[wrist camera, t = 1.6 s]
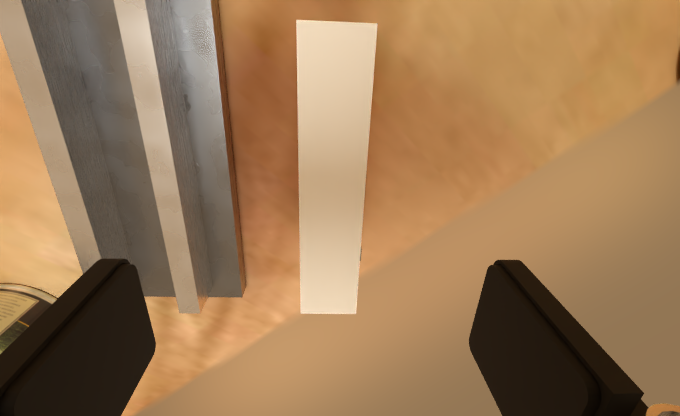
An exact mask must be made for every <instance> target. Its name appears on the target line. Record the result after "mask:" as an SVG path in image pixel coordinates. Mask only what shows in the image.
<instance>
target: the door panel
mask: <svg viewBox="0 0 680 416" xmlns="http://www.w3.org/2000/svg"><path fill="white" fill-rule="evenodd" d="M377 25H378V23H357V22H335V21H312V20H296V27H297V95H298V164H299V232H300V301H301V314H356V306H357V292H358V279H359V265H360V261H361V250H362V249H361V239H362V225H363V212H364V199H365V185H366V172H367V158H368V145H369V132H370V118H371V105H372V92H373V78H374V65H375V51H376V38H377Z"/></svg>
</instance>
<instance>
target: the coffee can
mask: <svg viewBox="0 0 680 416" xmlns="http://www.w3.org/2000/svg"><path fill="white" fill-rule="evenodd" d="M56 300H57V298H55V297H53V296H52V295H50V294H48V293H46V292H43V291H41V290H38V289H35V288H32V287H28V286H24V285H17V284H0V354H1V353H2V352H3V351H4V350H5V349H6V348H7V347H8V346H9V345H10V344H11V343H12V342H13V341H14V340H15V339H16V338H17V337H18V336H20V335H21V334H22V333H23V332H24V331H25V330H26V329H27V328H28V327H29V326H30V325H31V324H32V323H33V322H34V321H35V320H36V319H37V318H38V317H39V316H40V315H41V314H42V313H43V312H44V311H46V310H47V309H48V308H49V307H50V306H51V305H52V304H53V303H54V302H55V301H56Z"/></svg>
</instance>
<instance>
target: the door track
mask: <svg viewBox="0 0 680 416" xmlns="http://www.w3.org/2000/svg"><path fill="white" fill-rule="evenodd" d="M0 33H1V36H2V39H3V42H4V45H5V48H6V51H7V54H8V57H9V59H10V62H11V65H12V68H13V71H14V74H15V77H16V80H17V83H18V86H19V88H20V91H21V94H22V97H23V100H24V103H25V106H26V109H27V112H28V115H29V118H30V120H31V123H32V126H33V129H34V132H35V135H36V138H37V141H38V144H39V147H40V149H41V152H42V155H43V158H44V161H45V164H46V167H47V170H48V173H49V176H50V178H51V181H52V184H53V187H54V190H55V193H56V196H57V199H58V202H59V205H60V208H61V210H62V213H63V216H64V219H65V222H66V225H67V228H68V231H69V234H70V237H71V239H72V242H73V245H74V248H75V251H76V254H77V257H78V260H79V263H80V266H81V268H82V271H83V274H84V273H85V272H86V271H87V270H88V269H89V268H90V267H91V266H92V265H93V264H94V263H95V262H96V261H98V260H99V259H127V260H128V261H129V262H130V264H133V265H135V266H136V268H137V271H138V275H139V279H140V283H141V287H142V291H143V295H144V296H157V297H176V299H177V304H178V308H179V313H201V311H202V309H203V307H204V305H205V302H206V300H207V298H208V297H243V294H244V291H245V288H246V279H245V269H244V259H243V249H242V238H241V228H240V218H239V208H238V198H237V188H236V177H235V167H234V157H233V147H232V137H231V127H230V117H229V106H228V96H227V86H226V76H225V66H224V56H223V45H222V35H221V25H220V15H219V5H218V0H0Z"/></svg>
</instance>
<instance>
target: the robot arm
mask: <svg viewBox="0 0 680 416" xmlns="http://www.w3.org/2000/svg"><path fill="white" fill-rule="evenodd" d="M469 346H470V350H471V352H472V355H473V357H474V359H475V361H476V363H477V364H478V367H479V369H480V371H481V373H482V375H483V376H484V379H485V381H486V383H487V385H488V387H489V389H490V391H491V393H492V395H493V397H494V399H495V401H496V404H497V406H498V408H499V410H500V412H501V414H502V416H680V407H679V406H677V405H670V404H665V403H662V404H654V405H652V406H651V407H650V408H648V407H647V406H646V405H645V403H644V402H643V401H642V400H641V397H642V396H643V394H644V393H643V392H642V391H641V390H640V388H639V387H637V385H636V384H635V383H634V382H633V381H632V380H631V379H630V378H629V377H628V375H627V374H626V373H624V371H623V370H622V369H621V368H620V367H619V366H618V365H617V364H616V363H615V361H614V360H613V359H612V358H611V357H610V356H609V355H608V354H607V353H606V352H605V351H604V350H603V349H602V347H601V346H600V345H598V343H597V342H596V341H595V340H594V339H593V338H592V337H591V336H590V335H589V333H588V332H587V331H586V330H585V329H584V328H583V327H582V326H581V325H580V324H579V323H578V322H577V321H576V319H575V318H573V316H572V315H571V314H570V313H569V312H568V311H567V310H566V309H565V308H564V307H563V306H562V304H561V303H560V302H559V301H558V300H557V299H556V298H555V297H554V296H553V295H552V294H551V293H550V292H549V290H548V289H547V288H546V287H545V286H544V285H543V284H542V283H541V282H540V281H539V280H538V279H537V278H536V276H535V275H534V274H533V273H532V272H531V271H530V270H529V269H528V268H527V267H526V266H525V265H524V264H523V263H522V262H521V261H520V260H497V261H495V263H494V265H491V266H489V267H488V269H487V273H486V277H485V281H484V284H483V288H482V292H481V295H480V300H479V303H478V307H477V310H476V314H475V318H474V322H473V326H472V329H471V333H470V337H469ZM155 347H156V342H155V337H154V334H153V330H152V326H151V322H150V318H149V314H148V310H147V306H146V302H145V298H144V295H143V291H142V287H141V283H140V279H139V275H138V271H137V268H136V266H135V265H133V264H130V262H129V261H128V260H127V259H99V260H98V261H96V262H95V263H94V264H93V265H92V266H91V267H90V268H89V269H88V270H87V271H86V272H85V273H84V274H83V275H82V276H81V277H80V278H79V279H78V280H77V281H76V282H75V283H74V284H73V285H71V286H70V287H69V288H68V289H67V290H66V291H65V292H64V293H63V294H62V295H61V296H60V297H59V298H58V299H57V300H56V301H55V302H54V303H53V304H52V305H51V306H50V307H49V308H48V309H47V310H46V311H44V312H43V313H42V314H41V315H40V316H39V317H38V318H37V319H36V320H35V321H34V322H33V323H32V324H31V325H30V326H29V327H28V328H27V329H26V330H25V331H24V332H23V333H22V334H21V335H20V336H18V337H17V338H16V339H15V340H14V341H13V342H12V343H11V344H10V345H9V346H8V347H7V348H6V349H5V350H4V351H3V352H2V353H1V354H0V416H121V414H122V413H123V411H124V409H125V407H126V405H127V403H128V401H129V400H130V398H131V396H132V394H133V392H134V390H135V388H136V387H137V385H138V383H139V381H140V379H141V377H142V376H143V374H144V372H145V370H146V368H147V366H148V364H149V363H150V361H151V359H152V357H153V355H154V352H155Z"/></svg>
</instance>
